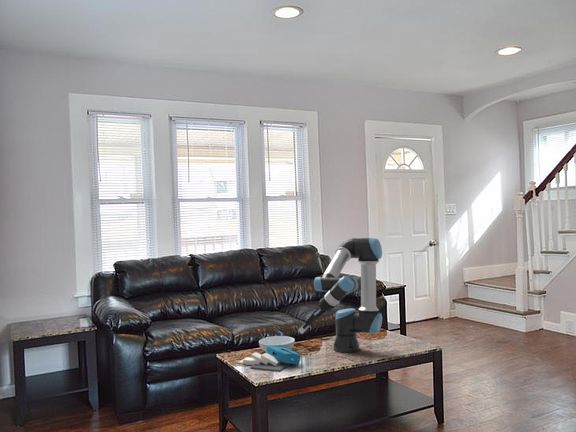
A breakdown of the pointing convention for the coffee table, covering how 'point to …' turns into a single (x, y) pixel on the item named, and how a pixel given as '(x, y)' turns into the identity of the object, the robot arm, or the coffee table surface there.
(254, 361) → the domino
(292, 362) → the block
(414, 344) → the coffee table surface
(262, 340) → the serving bowl
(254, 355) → the domino
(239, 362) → the domino
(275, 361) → the domino
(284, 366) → the domino mat
